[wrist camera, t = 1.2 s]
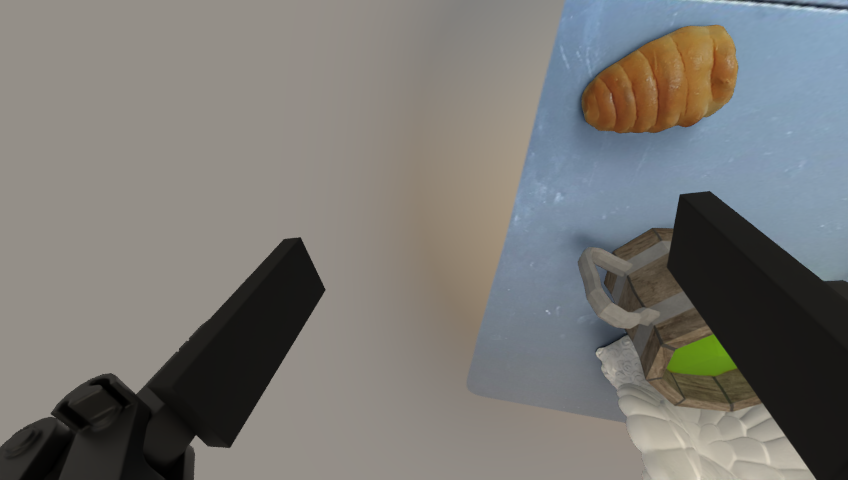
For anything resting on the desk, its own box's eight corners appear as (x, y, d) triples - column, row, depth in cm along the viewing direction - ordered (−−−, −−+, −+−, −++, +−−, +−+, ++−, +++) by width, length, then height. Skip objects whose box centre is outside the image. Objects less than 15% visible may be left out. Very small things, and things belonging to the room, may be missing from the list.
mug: (752, 249, 32) (869, 351, 22) (669, 321, 38) (733, 427, 28) (601, 189, 31) (652, 267, 21) (541, 272, 37) (559, 363, 27)
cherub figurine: (579, 378, 45) (629, 582, 29) (590, 309, 39) (663, 521, 22) (690, 384, 43) (817, 614, 26) (722, 311, 36) (918, 555, 20)
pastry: (584, 145, 30) (596, 159, 26) (573, 63, 26) (584, 68, 23) (713, 109, 27) (743, 120, 23) (717, 12, 24) (753, 10, 20)
